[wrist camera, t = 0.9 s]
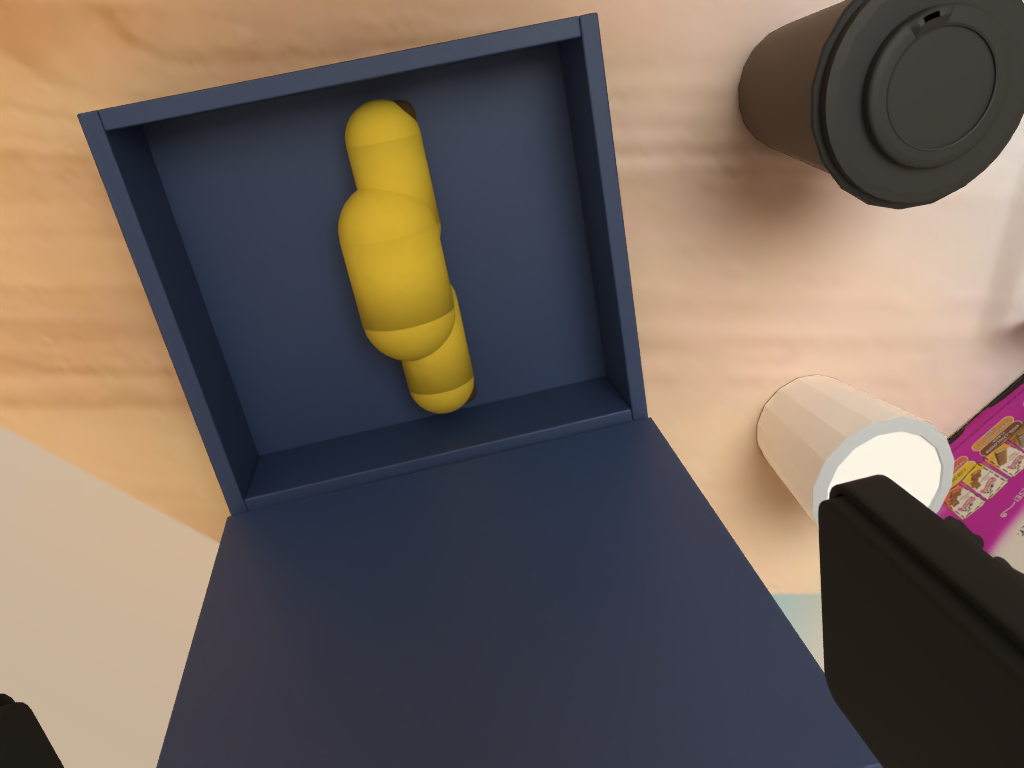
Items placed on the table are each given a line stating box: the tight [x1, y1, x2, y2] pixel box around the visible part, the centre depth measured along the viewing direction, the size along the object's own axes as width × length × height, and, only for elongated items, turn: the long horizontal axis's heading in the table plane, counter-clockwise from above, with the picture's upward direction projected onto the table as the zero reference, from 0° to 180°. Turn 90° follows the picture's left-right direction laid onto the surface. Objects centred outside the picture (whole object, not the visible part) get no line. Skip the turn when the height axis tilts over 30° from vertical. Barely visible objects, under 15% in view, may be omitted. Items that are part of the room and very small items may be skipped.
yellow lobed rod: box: [338, 99, 477, 414], centre depth 32 cm, size 14×4×4 cm, turn 11°
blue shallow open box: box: [77, 13, 648, 516], centre depth 32 cm, size 16×18×5 cm
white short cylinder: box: [757, 375, 955, 529], centre depth 37 cm, size 7×7×7 cm
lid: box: [156, 418, 883, 768], centre depth 26 cm, size 17×18×5 cm
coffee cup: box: [739, 0, 1024, 209], centre depth 29 cm, size 8×8×10 cm
